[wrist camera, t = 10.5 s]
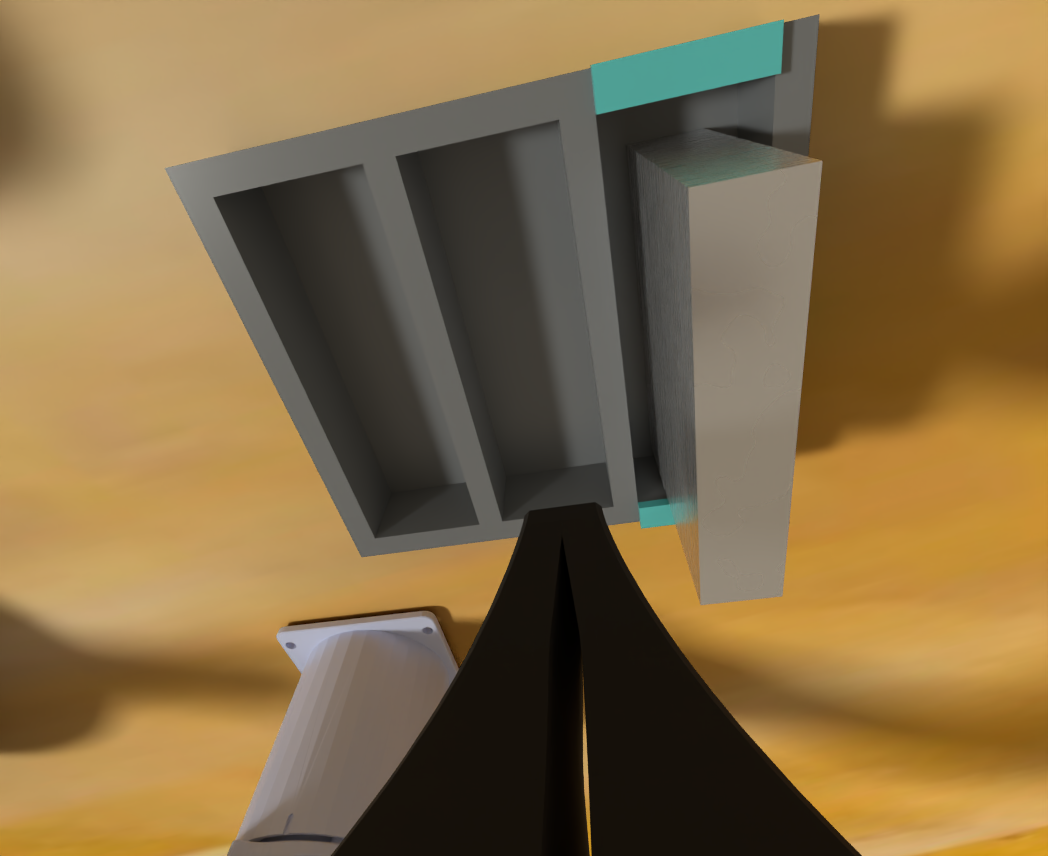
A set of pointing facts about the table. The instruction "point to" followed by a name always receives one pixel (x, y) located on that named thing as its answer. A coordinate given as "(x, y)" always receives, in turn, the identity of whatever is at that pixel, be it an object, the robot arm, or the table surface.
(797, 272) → the long gray block
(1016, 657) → the table surface
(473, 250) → the rack
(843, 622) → the table surface
